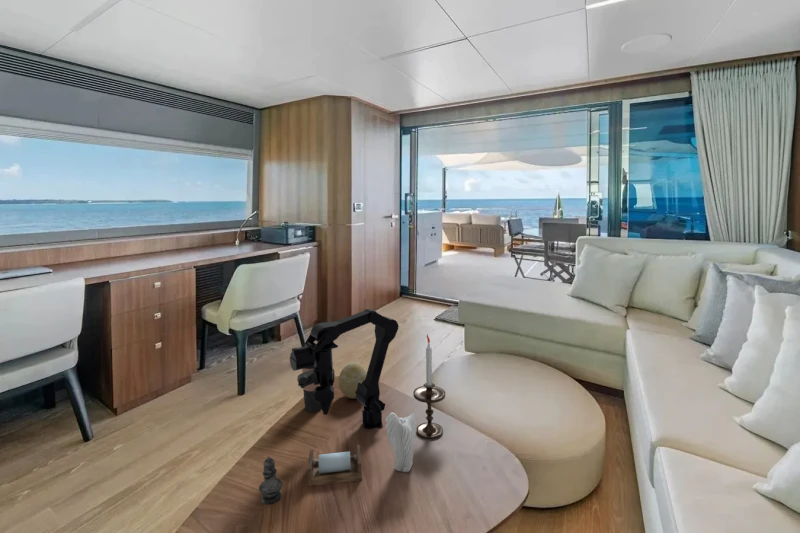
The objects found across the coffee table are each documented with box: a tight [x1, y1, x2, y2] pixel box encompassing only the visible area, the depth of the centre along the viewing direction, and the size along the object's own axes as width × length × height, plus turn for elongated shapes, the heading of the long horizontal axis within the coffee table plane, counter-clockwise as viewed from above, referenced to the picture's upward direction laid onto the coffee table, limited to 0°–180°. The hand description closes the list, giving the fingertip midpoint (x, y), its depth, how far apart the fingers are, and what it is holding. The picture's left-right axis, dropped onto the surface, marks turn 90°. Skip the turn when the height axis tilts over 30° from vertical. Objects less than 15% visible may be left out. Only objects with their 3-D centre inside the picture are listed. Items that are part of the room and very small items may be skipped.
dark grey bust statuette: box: [258, 455, 283, 506], centre depth 103 cm, size 6×6×12 cm
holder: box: [306, 444, 363, 487], centre depth 113 cm, size 15×9×5 cm, turn 98°
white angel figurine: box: [385, 411, 417, 473], centre depth 114 cm, size 8×8×18 cm
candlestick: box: [412, 333, 446, 440], centre depth 131 cm, size 11×11×35 cm
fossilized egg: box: [337, 361, 368, 400], centre depth 159 cm, size 13×13×15 cm
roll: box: [318, 450, 351, 474], centre depth 113 cm, size 9×5×5 cm, turn 98°
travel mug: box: [301, 364, 322, 413], centre depth 151 cm, size 8×8×20 cm
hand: (325, 407), depth 128 cm, fingers open, 9 cm apart
